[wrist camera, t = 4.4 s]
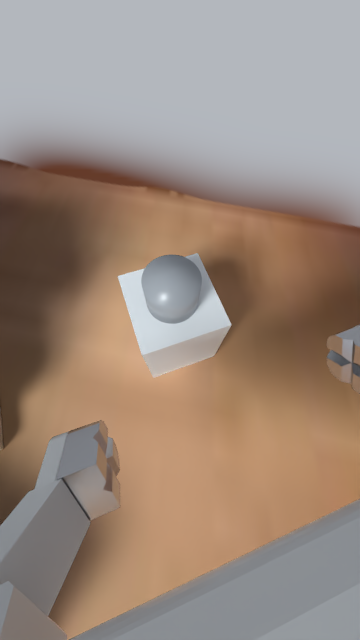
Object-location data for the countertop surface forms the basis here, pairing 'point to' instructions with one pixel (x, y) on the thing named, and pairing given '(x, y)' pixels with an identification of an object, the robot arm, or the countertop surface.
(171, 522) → the countertop surface
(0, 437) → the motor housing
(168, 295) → the ball-topped white cube
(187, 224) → the countertop surface
